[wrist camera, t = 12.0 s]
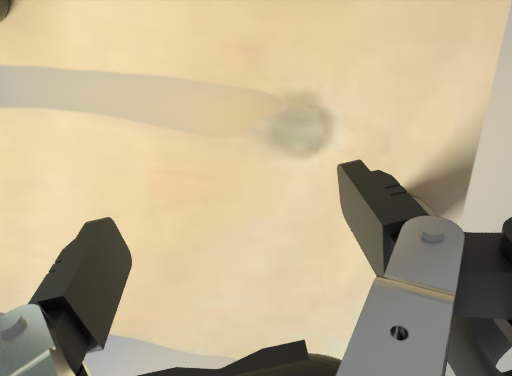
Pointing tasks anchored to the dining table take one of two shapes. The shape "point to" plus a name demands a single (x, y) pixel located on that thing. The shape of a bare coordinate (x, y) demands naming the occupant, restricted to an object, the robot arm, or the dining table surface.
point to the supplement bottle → (3, 8)
